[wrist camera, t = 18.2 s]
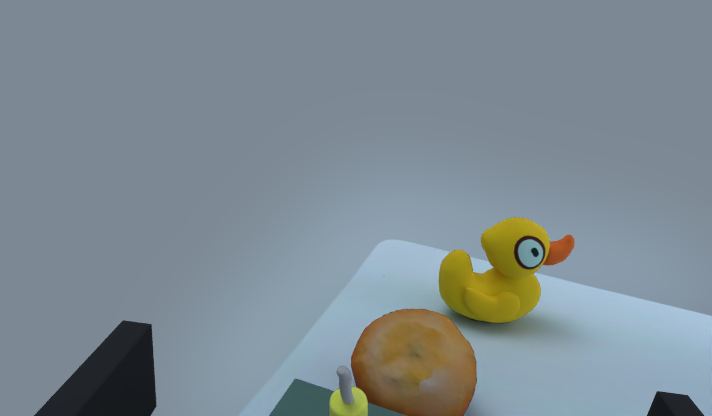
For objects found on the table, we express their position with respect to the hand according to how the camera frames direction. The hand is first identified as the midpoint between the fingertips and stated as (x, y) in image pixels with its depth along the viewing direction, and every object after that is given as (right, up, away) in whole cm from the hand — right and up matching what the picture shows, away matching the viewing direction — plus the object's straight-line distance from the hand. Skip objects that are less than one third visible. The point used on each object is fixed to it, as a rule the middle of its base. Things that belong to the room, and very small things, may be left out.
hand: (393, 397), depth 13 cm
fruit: (+2, -9, +20) cm, 22 cm away
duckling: (+12, -5, +32) cm, 35 cm away
